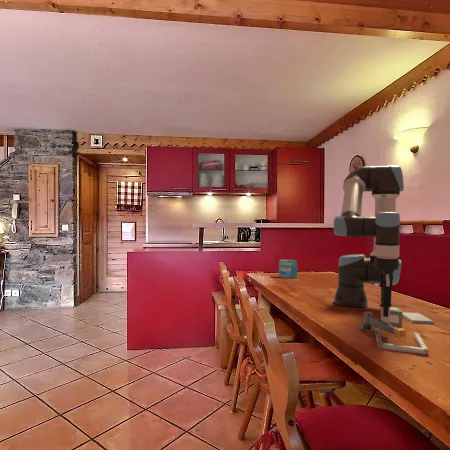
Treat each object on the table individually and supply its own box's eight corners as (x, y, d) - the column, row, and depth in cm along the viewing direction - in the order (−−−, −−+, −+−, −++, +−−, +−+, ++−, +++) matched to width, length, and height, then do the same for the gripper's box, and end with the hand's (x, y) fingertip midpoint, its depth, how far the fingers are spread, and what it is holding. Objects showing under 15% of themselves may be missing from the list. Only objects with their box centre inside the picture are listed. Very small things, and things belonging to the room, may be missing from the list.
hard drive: (434, 321, 131) (419, 312, 144) (412, 320, 132) (399, 311, 145) (434, 325, 131) (419, 316, 144) (412, 324, 132) (399, 315, 145)
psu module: (382, 321, 134) (382, 305, 134) (399, 323, 132) (400, 307, 132) (384, 326, 127) (384, 309, 127) (402, 328, 125) (402, 311, 125)
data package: (279, 277, 233) (279, 260, 233) (278, 276, 238) (279, 259, 238) (297, 278, 233) (297, 260, 233) (296, 277, 237) (296, 260, 237)
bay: (374, 332, 120) (375, 328, 120) (418, 337, 115) (418, 333, 115) (378, 348, 104) (378, 343, 104) (428, 355, 100) (428, 350, 100)
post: (359, 326, 126) (360, 310, 126) (374, 328, 125) (375, 311, 125) (360, 330, 122) (360, 313, 122) (375, 332, 120) (375, 315, 120)
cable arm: (367, 323, 121) (367, 316, 121) (374, 322, 121) (374, 316, 121) (398, 338, 106) (398, 330, 106) (405, 337, 106) (406, 330, 106)
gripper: (373, 254, 124) (372, 318, 125) (375, 259, 112) (374, 329, 113) (396, 255, 121) (395, 320, 122) (401, 260, 109) (399, 332, 110)
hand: (385, 324), depth 118 cm, fingers closed
